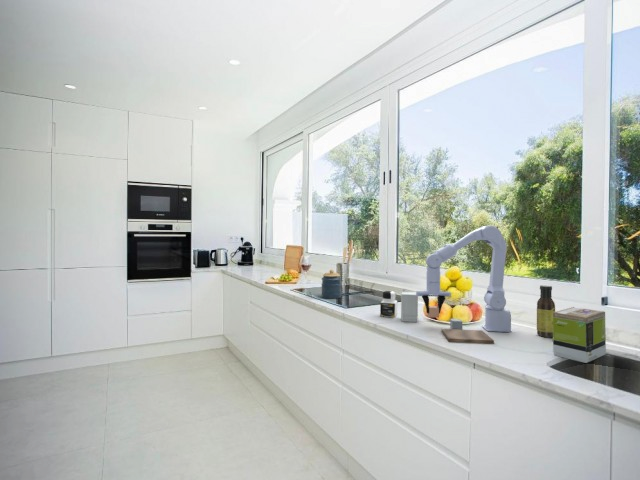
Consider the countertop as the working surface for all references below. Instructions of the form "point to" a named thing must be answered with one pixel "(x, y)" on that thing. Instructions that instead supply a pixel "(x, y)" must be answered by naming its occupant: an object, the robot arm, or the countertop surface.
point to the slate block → (455, 324)
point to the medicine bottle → (388, 304)
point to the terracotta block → (433, 311)
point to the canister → (331, 285)
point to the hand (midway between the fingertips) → (433, 312)
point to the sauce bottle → (545, 312)
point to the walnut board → (467, 336)
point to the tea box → (579, 334)
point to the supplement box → (409, 307)
